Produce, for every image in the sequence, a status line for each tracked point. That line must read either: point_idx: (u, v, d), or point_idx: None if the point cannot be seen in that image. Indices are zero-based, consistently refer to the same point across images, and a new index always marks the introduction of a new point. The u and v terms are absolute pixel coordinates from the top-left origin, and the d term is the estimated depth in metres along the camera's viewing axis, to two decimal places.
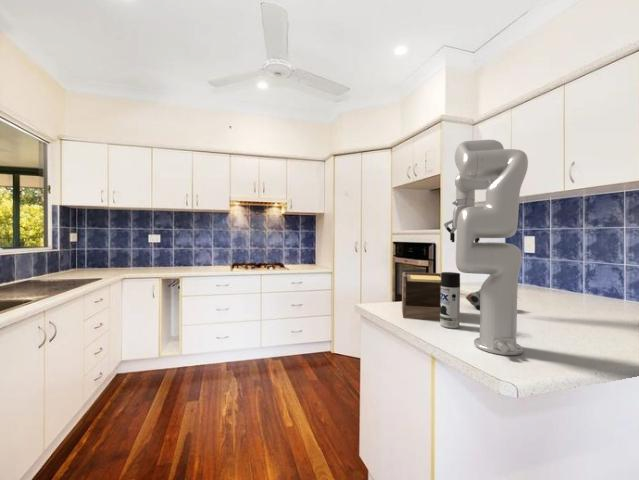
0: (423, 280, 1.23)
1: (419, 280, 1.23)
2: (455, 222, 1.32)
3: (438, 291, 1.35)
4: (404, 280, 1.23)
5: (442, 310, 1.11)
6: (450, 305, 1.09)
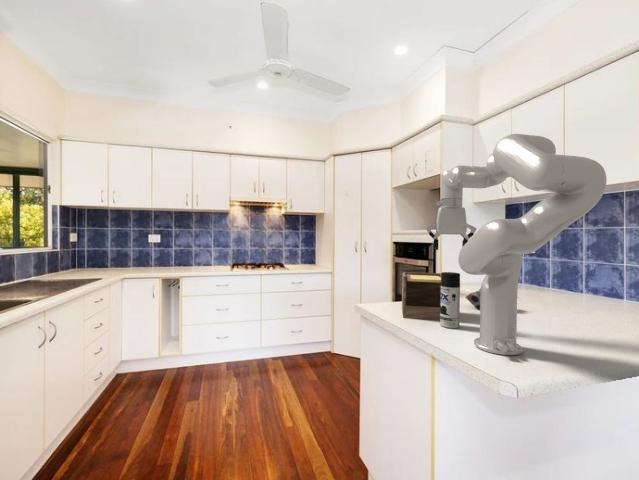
0: (423, 280, 1.23)
1: (419, 280, 1.23)
2: (439, 226, 1.10)
3: (438, 291, 1.35)
4: (404, 280, 1.23)
5: (442, 310, 1.11)
6: (450, 305, 1.09)
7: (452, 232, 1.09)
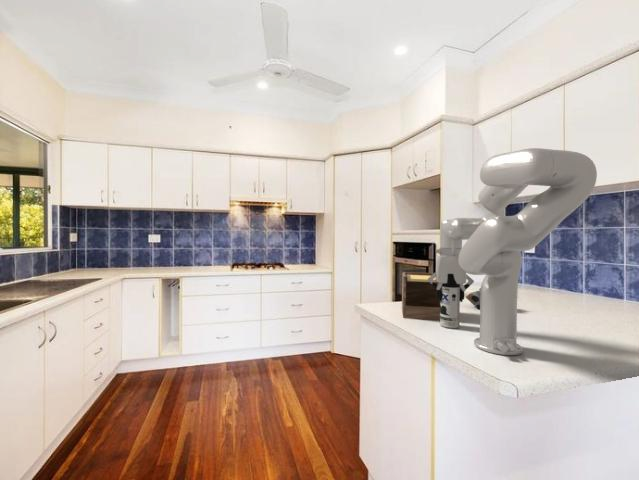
0: (423, 280, 1.23)
1: (419, 280, 1.23)
2: (438, 275, 1.10)
3: None
4: (404, 280, 1.23)
5: (442, 310, 1.11)
6: (450, 305, 1.09)
7: None
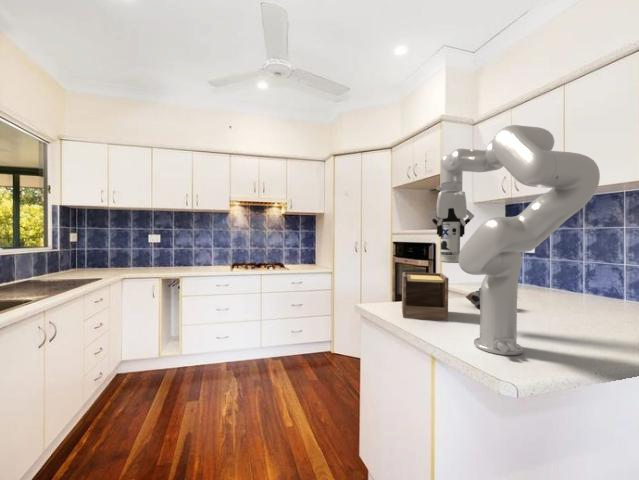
0: (423, 280, 1.23)
1: (419, 280, 1.23)
2: (439, 210, 1.11)
3: (438, 291, 1.35)
4: (404, 280, 1.23)
5: (442, 245, 1.11)
6: (450, 239, 1.09)
7: None
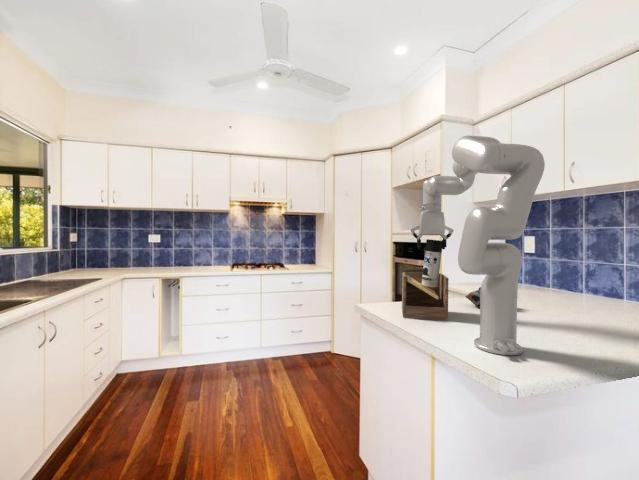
0: (421, 288, 1.23)
1: (417, 286, 1.23)
2: (421, 228, 1.27)
3: (438, 291, 1.35)
4: (404, 280, 1.23)
5: (424, 271, 1.27)
6: (431, 267, 1.25)
7: (432, 233, 1.26)
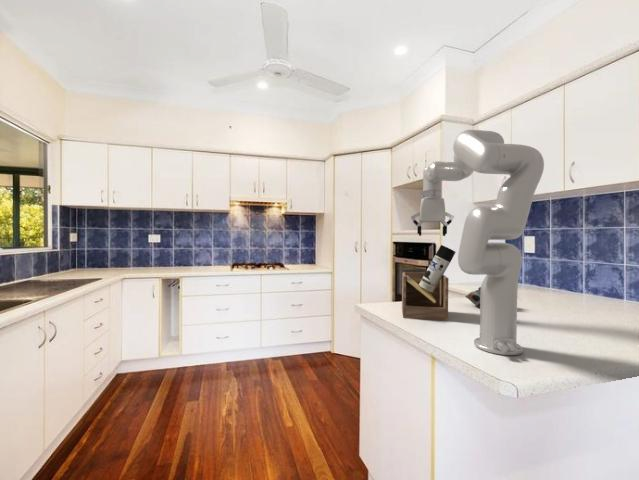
0: (419, 289, 1.23)
1: (416, 287, 1.23)
2: (421, 215, 1.27)
3: (438, 291, 1.35)
4: (404, 280, 1.23)
5: (426, 274, 1.27)
6: (435, 272, 1.25)
7: (433, 219, 1.25)
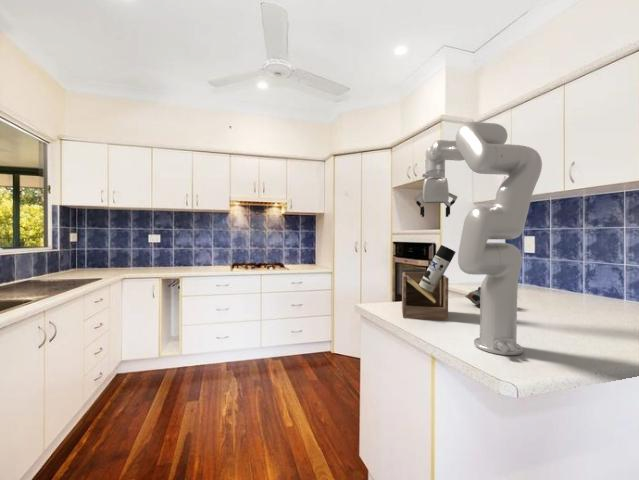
0: (419, 289, 1.23)
1: (416, 287, 1.23)
2: (424, 195, 1.25)
3: (438, 291, 1.35)
4: (404, 280, 1.23)
5: (426, 274, 1.27)
6: (435, 272, 1.25)
7: (436, 200, 1.24)
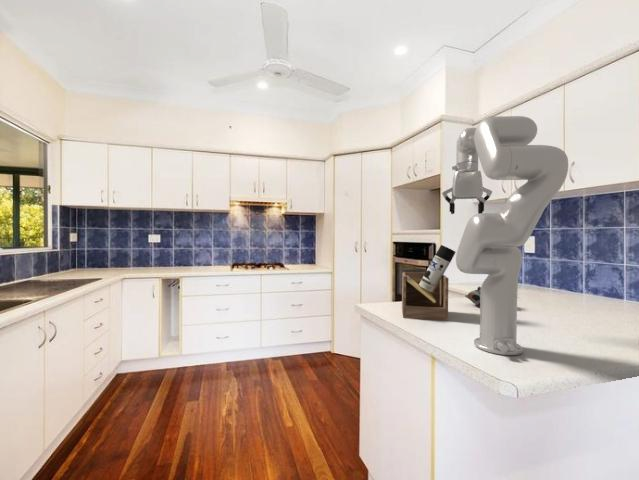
0: (419, 289, 1.23)
1: (416, 287, 1.23)
2: (455, 190, 1.13)
3: (438, 291, 1.35)
4: (404, 280, 1.23)
5: (426, 274, 1.27)
6: (435, 272, 1.25)
7: (468, 195, 1.11)
